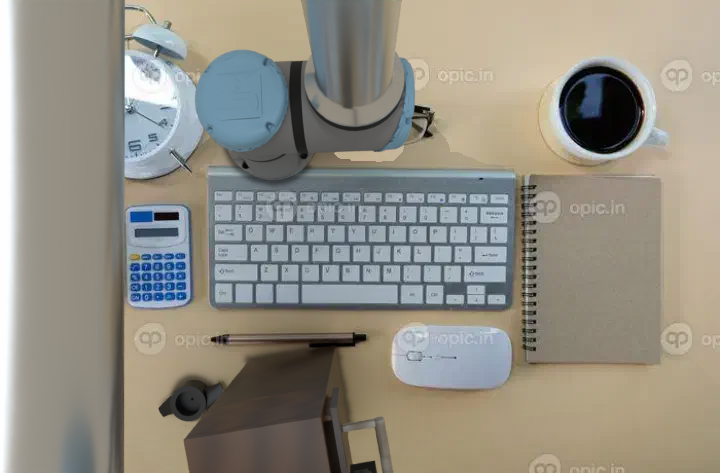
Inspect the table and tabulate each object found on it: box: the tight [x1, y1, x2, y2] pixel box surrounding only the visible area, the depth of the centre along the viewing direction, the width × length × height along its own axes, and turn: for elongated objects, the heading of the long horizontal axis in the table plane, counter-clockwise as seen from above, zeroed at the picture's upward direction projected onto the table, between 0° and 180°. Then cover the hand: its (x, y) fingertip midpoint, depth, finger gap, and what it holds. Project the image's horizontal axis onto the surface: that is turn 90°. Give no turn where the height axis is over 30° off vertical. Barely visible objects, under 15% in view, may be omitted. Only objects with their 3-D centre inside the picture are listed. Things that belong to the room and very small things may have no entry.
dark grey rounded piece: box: [157, 379, 224, 423], centre depth 77 cm, size 8×10×3 cm
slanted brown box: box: [183, 344, 350, 473], centre depth 64 cm, size 15×13×30 cm
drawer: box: [323, 387, 394, 473], centre depth 54 cm, size 19×13×7 cm
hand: (363, 469), depth 50 cm, fingers closed
